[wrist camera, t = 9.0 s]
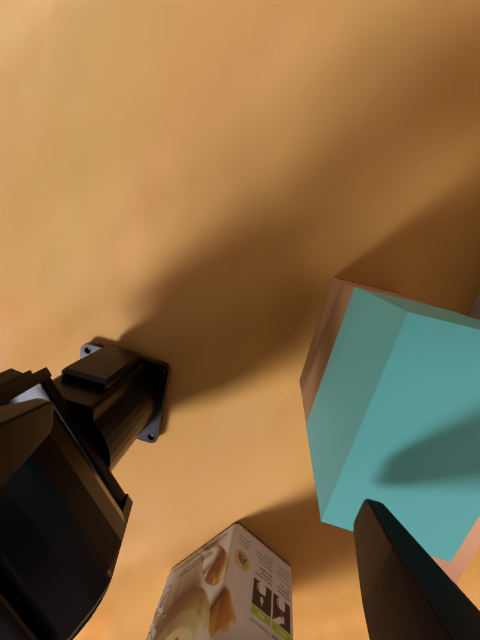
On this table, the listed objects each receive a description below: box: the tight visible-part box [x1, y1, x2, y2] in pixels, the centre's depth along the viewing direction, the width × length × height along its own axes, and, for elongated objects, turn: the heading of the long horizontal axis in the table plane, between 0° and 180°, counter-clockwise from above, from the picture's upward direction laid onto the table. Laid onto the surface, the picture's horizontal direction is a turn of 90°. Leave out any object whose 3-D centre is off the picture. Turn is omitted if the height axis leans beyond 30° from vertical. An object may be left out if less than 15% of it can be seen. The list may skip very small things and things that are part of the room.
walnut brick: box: [300, 278, 436, 423], centre depth 15 cm, size 7×4×5 cm, turn 167°
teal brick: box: [306, 287, 480, 562], centre depth 10 cm, size 7×4×5 cm, turn 167°
